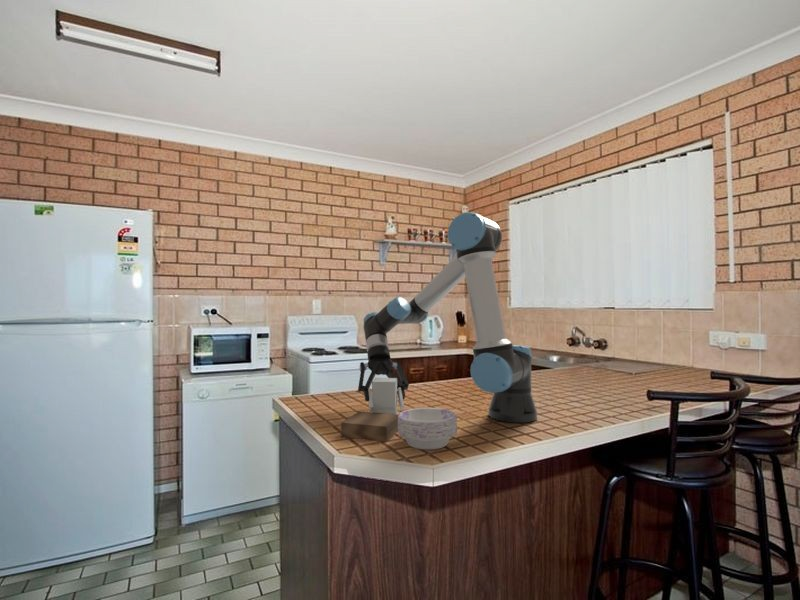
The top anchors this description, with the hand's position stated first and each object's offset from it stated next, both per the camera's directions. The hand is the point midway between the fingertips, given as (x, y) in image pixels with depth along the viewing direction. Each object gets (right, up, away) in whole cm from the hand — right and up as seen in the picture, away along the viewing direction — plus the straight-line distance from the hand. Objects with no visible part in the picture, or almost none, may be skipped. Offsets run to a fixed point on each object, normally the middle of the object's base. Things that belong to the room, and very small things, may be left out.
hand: (387, 408), depth 130 cm
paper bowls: (+11, -4, -20) cm, 23 cm away
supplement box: (-1, -5, +3) cm, 6 cm away
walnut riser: (-4, -4, -11) cm, 12 cm away
